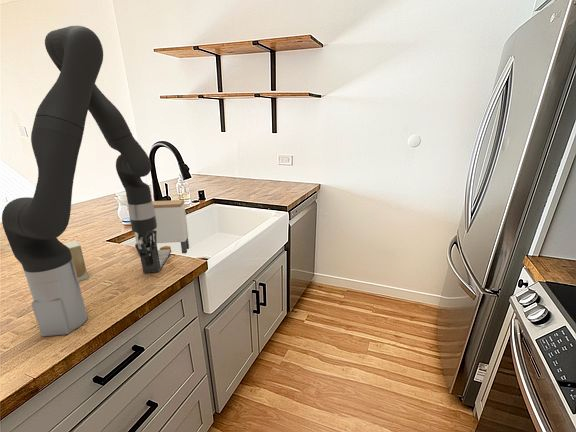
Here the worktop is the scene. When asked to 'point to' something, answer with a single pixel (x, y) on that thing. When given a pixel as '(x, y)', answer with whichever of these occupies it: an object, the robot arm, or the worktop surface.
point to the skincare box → (77, 260)
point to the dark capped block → (155, 259)
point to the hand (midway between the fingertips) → (150, 263)
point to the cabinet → (170, 223)
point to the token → (165, 248)
